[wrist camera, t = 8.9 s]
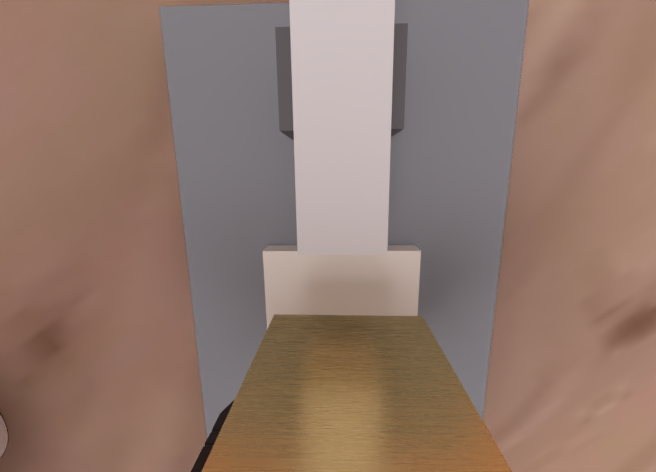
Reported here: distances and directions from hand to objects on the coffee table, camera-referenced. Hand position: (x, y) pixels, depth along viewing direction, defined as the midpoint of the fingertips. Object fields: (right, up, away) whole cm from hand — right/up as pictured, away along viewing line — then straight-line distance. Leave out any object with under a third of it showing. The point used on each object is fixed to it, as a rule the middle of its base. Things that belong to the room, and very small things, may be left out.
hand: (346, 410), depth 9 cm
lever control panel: (0, +1, +6) cm, 6 cm away
